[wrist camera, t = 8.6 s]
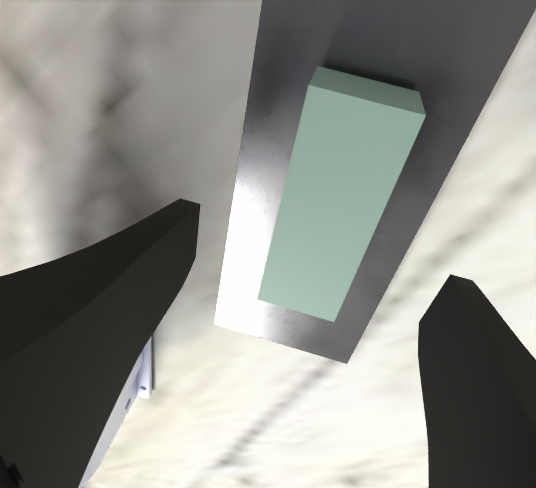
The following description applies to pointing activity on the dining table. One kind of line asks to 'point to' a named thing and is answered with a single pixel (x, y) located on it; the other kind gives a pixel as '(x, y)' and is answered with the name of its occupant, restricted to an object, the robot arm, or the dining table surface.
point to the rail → (417, 163)
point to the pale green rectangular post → (337, 188)
